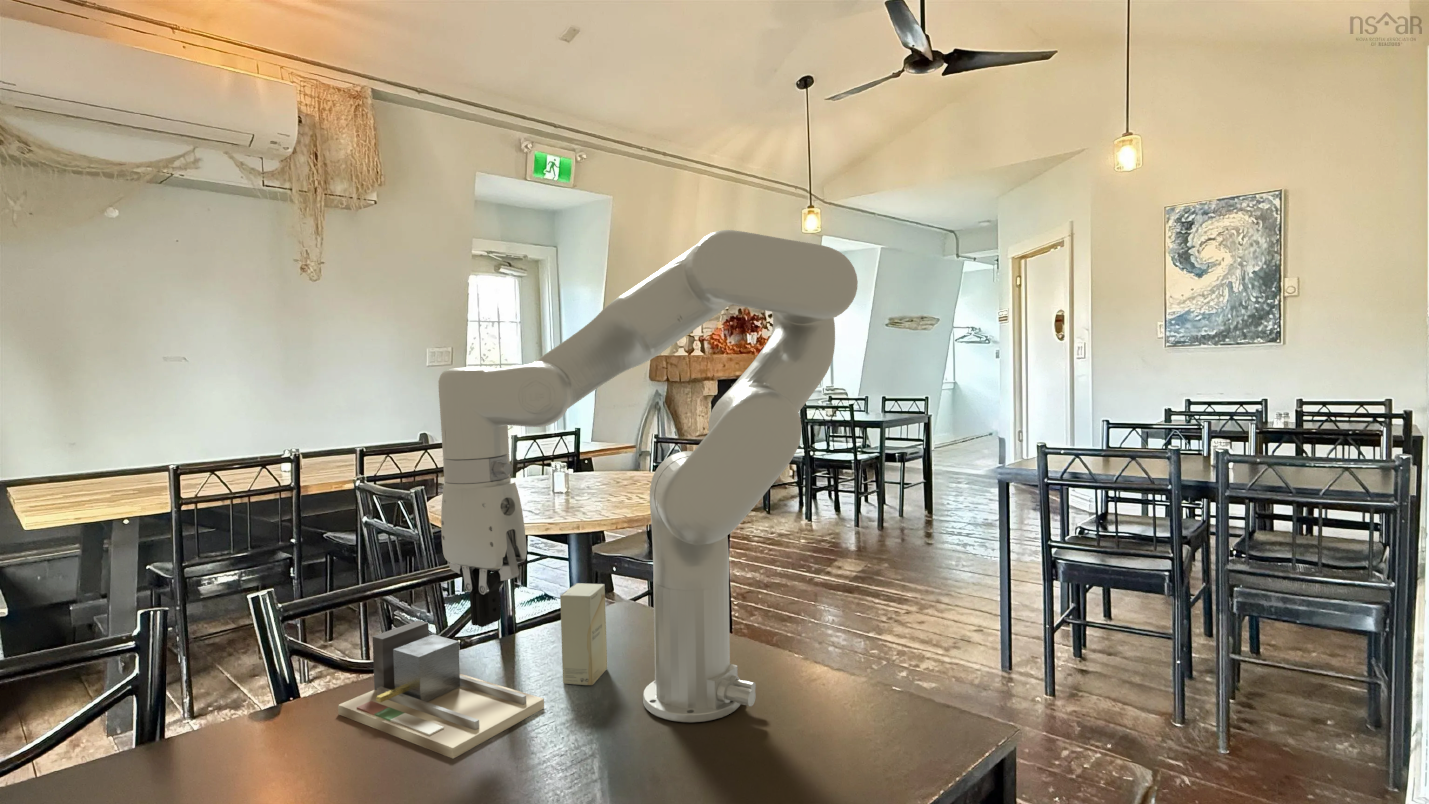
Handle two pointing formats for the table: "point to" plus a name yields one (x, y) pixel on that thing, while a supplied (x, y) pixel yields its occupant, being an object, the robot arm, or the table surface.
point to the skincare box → (583, 633)
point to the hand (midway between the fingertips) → (486, 622)
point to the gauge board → (436, 704)
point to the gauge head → (425, 669)
